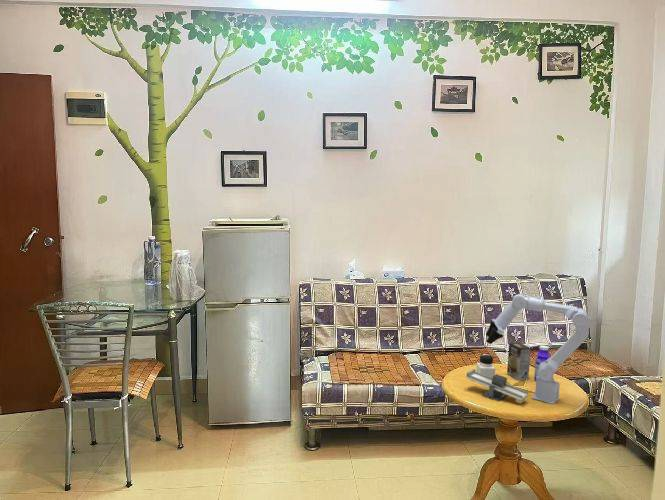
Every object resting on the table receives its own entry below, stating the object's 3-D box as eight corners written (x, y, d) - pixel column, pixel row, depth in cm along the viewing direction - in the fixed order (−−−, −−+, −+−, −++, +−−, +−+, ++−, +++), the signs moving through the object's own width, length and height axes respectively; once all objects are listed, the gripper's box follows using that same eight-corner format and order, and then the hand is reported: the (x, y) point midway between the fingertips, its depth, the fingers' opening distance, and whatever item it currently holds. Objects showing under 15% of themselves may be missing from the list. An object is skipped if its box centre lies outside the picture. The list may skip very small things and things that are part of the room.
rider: (505, 386, 236) (507, 378, 235) (501, 388, 233) (503, 380, 232) (495, 382, 239) (496, 374, 238) (491, 384, 236) (492, 376, 235)
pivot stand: (508, 394, 239) (509, 382, 238) (499, 401, 231) (500, 389, 230) (491, 389, 244) (492, 378, 243) (482, 396, 236) (482, 384, 236)
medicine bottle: (494, 382, 253) (496, 358, 251) (479, 382, 253) (481, 357, 251) (490, 377, 260) (492, 353, 258) (475, 376, 260) (477, 352, 258)
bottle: (531, 379, 258) (534, 344, 256) (540, 378, 260) (543, 343, 258) (542, 384, 251) (545, 349, 249) (551, 383, 253) (554, 348, 251)
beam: (526, 400, 232) (528, 389, 231) (520, 404, 227) (522, 394, 226) (472, 378, 248) (473, 368, 247) (465, 382, 243) (467, 372, 242)
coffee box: (506, 374, 265) (508, 342, 262) (517, 372, 266) (519, 341, 264) (517, 380, 256) (520, 348, 254) (529, 379, 258) (531, 347, 256)
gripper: (497, 306, 245) (479, 328, 249) (500, 317, 231) (481, 340, 236) (510, 315, 245) (492, 336, 249) (513, 326, 231) (494, 349, 235)
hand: (487, 339), depth 242 cm, fingers open, 7 cm apart
